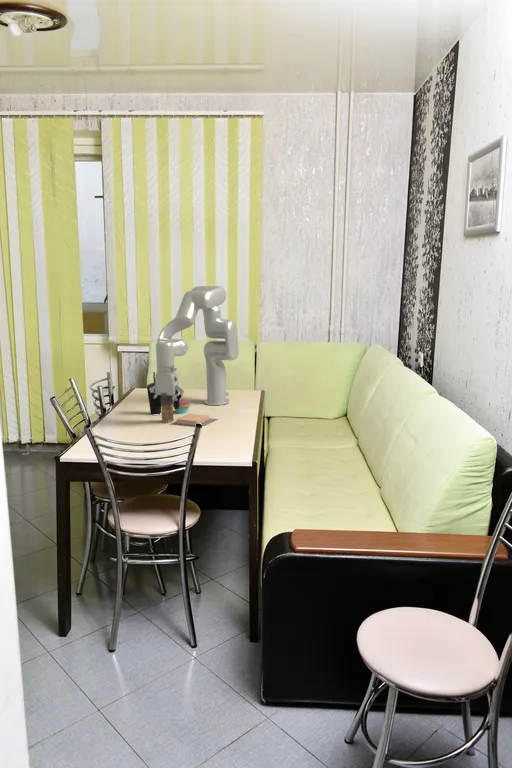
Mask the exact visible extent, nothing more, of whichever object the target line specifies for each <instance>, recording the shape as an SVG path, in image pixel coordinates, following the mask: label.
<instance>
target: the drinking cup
mask: <svg viewBox="0 0 512 768" xmlns="http://www.w3.org/2000/svg"><path fill="white" fill-rule="evenodd" d="M152 374H153V377H152V378H153V382H150V383H148V384H147V385H146V386H145V387H146V390H147V391H146V392H147V396H148V403H149V411H150V412H149V413H150V415H151V414H159V415H161V414H162V406H160V407H158V408H156V407H155V399H154V398H153V396H152V395H151V392H150V390H149V388H151V387H153V386H155V376H156V372H155V371H153V372H152ZM154 392H155V389H154ZM159 398H160V402H161V395H160V396H159ZM160 413H161V414H160Z"/></svg>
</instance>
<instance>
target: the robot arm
mask: <svg viewBox="0 0 512 768" xmlns="http://www.w3.org/2000/svg"><path fill="white" fill-rule="evenodd" d="M226 298H227V291H226V289H225V288H224V287H222V286H221V285H220V286H219V285H198V286H194V287H192V289H191V290H187V291H186V292H185V293H184V295H183V297H182V299H181V301H180V302H181V303H180V304H179V308H178V311H177V313H176V316H175V317H174V318H173V319H172V320H170V321H169V322H168V323H166V324H165V326H164V327H163V328H162V329H161V331H160V333H159V335H158V338H157V340H156V344H155V353H156V354H155V356H156V357H155V358H156V372H155V386H153V387H151V388H149V390H150V392H151V395H152V396H153V398H154V399H155V407H156V408H158V407H160V406H161V402H160V398H159V396H160V395H161V393H167V396H173V402H174V407H173V410H176V409H179V406H180V404H179V400H180V399H182V397H183V395H184V394H185V390H184V389H183V388H181V387H180V386H179V385H180V384H179V379H178V375H177V372H176V371H177V367H175V357H183V356H184V355H186V354H187V353H188V350H189V345H188V342H187V341H185V340H183V339H179V338H173V337H174V336H175V335H176V334H177V333H179V332H181V331H184V330H185V329H188V328H190V327H192V326H193V325H194V323H195V320H196V318H197V314H198V312H199V310H202V314H203V324H204V325H203V326H204V332H205V335H206V337H207V338H209V339H214V340H209V341H206V343H205V344H204V346H203V354H204V355H203V356H204V359H205V367H206V368H205V369H206V370H205V371H206V398H207V399H205V400H204V405H208V406H223V405H228V404H229V403H230V399H229V398H227V397H228V396H229V395H230V393H229V392H227V384H226V383H227V381H226V379H227V378H226V366H225V363H224V362H223V361H235V360H236V359H237V358H238V356H239V338H238V328H237V324H236V323H235V322H234V320H232V319H225V318H224V319H223V318H222V314H221V308H220V306H221V305H222V304H224V303H225V301H226ZM215 339H221V340H215ZM222 339H223V340H222ZM154 389H155V392H154ZM178 394H179V395H178ZM174 400H175V401H174ZM161 407H162V406H161Z"/></svg>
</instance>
